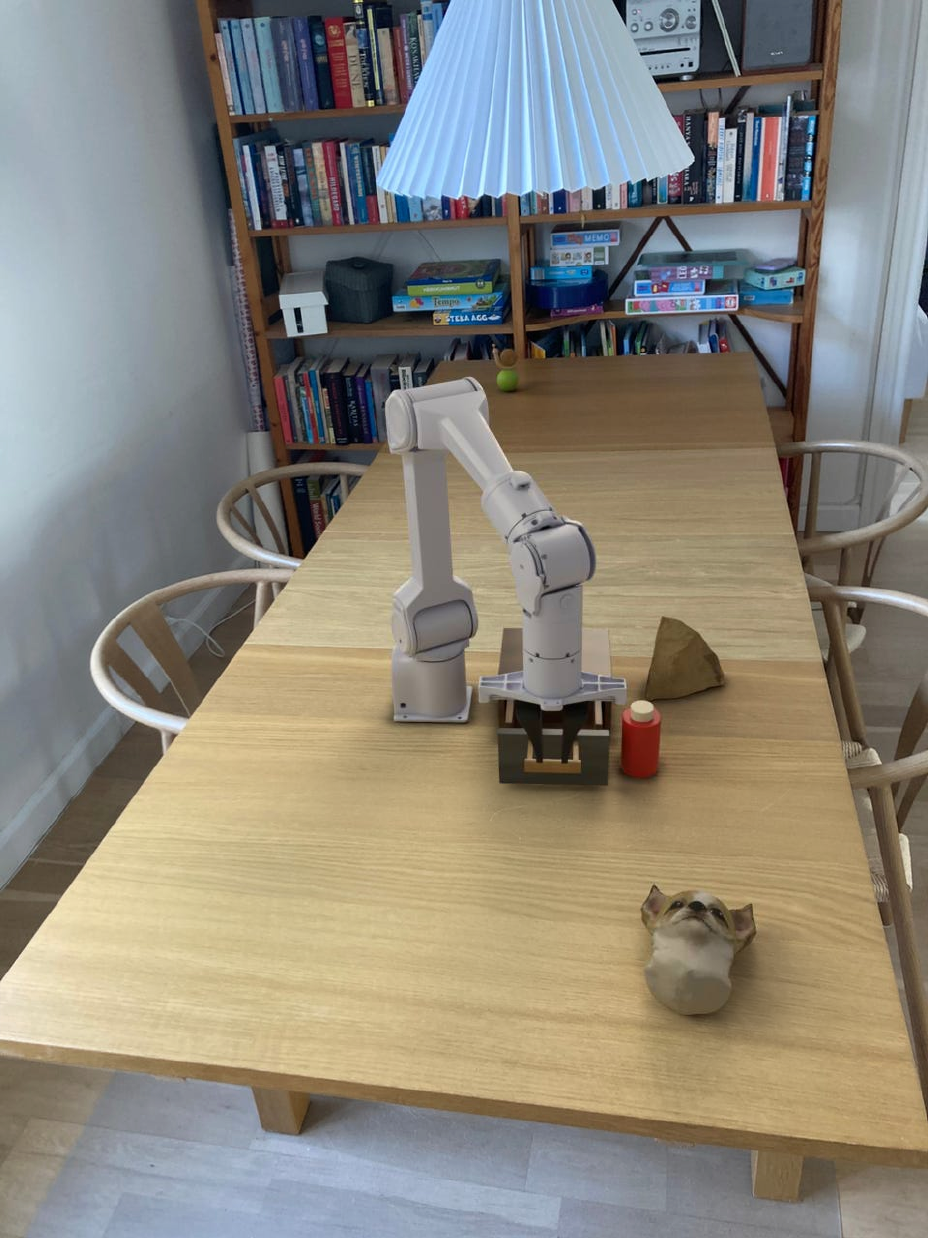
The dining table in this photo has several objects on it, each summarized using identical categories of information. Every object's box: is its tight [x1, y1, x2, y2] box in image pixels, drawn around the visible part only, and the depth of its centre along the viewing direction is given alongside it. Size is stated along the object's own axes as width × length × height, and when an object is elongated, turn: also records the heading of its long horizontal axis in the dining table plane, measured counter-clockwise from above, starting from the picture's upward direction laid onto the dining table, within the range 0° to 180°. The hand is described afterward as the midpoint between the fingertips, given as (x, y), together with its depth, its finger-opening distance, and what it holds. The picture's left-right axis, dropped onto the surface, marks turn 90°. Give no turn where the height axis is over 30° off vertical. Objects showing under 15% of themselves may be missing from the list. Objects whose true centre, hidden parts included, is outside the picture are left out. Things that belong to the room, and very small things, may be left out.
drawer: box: [497, 700, 611, 787], centre depth 117 cm, size 16×12×7 cm
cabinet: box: [497, 627, 613, 743], centre depth 128 cm, size 13×14×9 cm
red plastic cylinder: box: [619, 700, 662, 779], centre depth 117 cm, size 4×4×8 cm
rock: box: [644, 616, 726, 702], centre depth 132 cm, size 11×9×10 cm
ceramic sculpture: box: [640, 883, 757, 1016], centre depth 91 cm, size 11×9×15 cm
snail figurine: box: [491, 343, 520, 392], centre depth 251 cm, size 5×6×12 cm
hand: (552, 757), depth 105 cm, fingers closed
